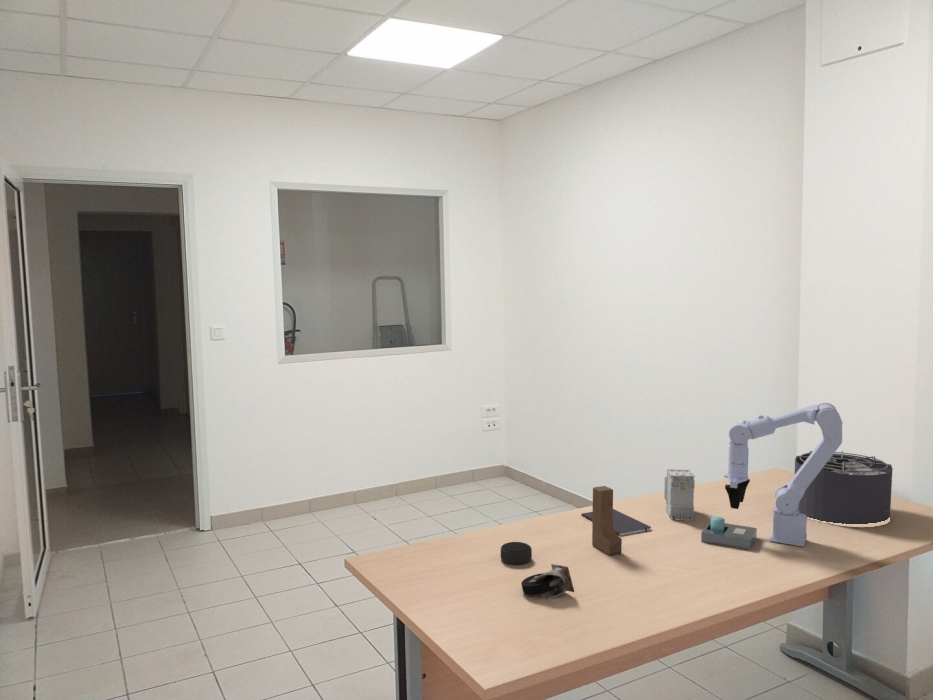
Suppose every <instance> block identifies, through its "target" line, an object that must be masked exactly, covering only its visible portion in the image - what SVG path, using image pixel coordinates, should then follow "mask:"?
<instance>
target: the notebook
mask: <svg viewBox="0 0 933 700" xmlns="http://www.w3.org/2000/svg"><path fill="white" fill-rule="evenodd" d="M582 516H583V517H585V518H586V520H587V519H588V520H587V521H589V520H590V522H591V521H592V518H593V511H590V512H588V511H587V512H583V513H581V517H582ZM583 517H582V518H583ZM585 518H584V519H585ZM613 528H614V530H615V533H616V534H617V535H618V536H619V537H621V535H622V536H626V534H628V535H633V534H637V532H639V533H643V532H642V531H644V532H645V531H646V532H648V531H647V530H649V531H651V529H652V526H650V525H648V524H646V523H644V522H642V521H639V520H638V519H636V518H633V517H631V516H629V515H627V514H625V513H623V512H620V511H618V510H616V509H614V508H613ZM632 533H633V534H632Z"/></svg>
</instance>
